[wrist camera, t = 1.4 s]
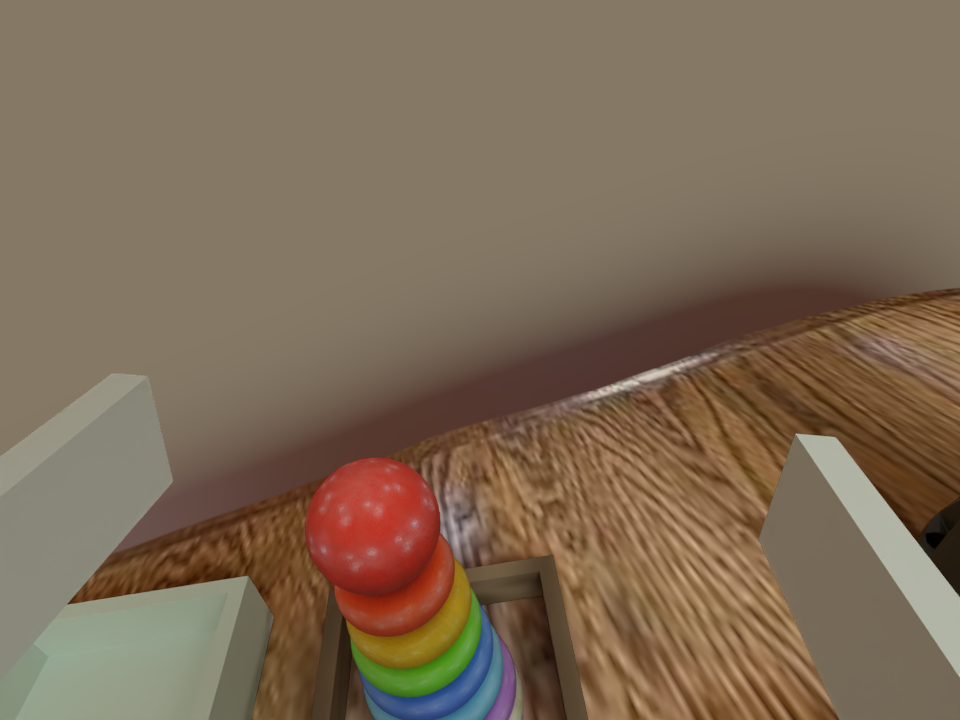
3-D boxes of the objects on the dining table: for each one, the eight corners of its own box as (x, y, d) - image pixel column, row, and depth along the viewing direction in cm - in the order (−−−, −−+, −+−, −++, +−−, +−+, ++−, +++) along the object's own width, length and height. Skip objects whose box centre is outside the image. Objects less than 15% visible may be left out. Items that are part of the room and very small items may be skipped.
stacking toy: (381, 654, 36) (274, 420, 25) (513, 629, 36) (462, 385, 25) (378, 811, 29) (230, 585, 18) (538, 780, 29) (484, 537, 18)
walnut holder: (555, 579, 38) (553, 554, 37) (613, 852, 26) (612, 832, 25) (340, 613, 38) (329, 590, 37) (305, 898, 27) (287, 881, 25)
